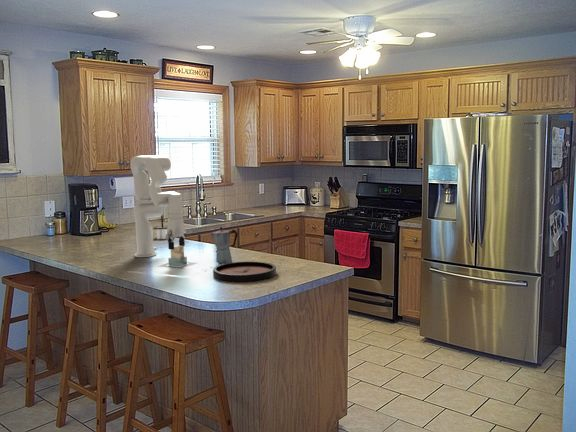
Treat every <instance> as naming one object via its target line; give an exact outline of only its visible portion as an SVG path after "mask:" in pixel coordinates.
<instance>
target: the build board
mask: <svg viewBox="0 0 576 432" xmlns="http://www.w3.org/2000/svg"><path fill="white" fill-rule="evenodd" d="M196 264H198V262H191V261H187V264H185V265H182V266H169V262H167V263H164V264H161V265H158V266H157V267H160V268H170V269H171V268H172V269H185V268H188V267H190V266H193V265H196Z"/></svg>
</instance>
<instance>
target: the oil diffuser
mask: <svg viewBox="0 0 576 432" xmlns="http://www.w3.org/2000/svg"><path fill="white" fill-rule="evenodd" d="M163 215H164V214H162V216H161V217H160V218H161V220H160V221H161V225H156V226H155V227H152V230H156V240H167V238H166V234H167V225H164V217H163Z"/></svg>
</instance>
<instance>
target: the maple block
mask: <svg viewBox="0 0 576 432" xmlns="http://www.w3.org/2000/svg"><path fill="white" fill-rule="evenodd" d="M184 247H185V246H179V244H178V245H174V249H173V250H172V249H170V258H182V257H184V256H185V251H184V250H185V249H184Z"/></svg>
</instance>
